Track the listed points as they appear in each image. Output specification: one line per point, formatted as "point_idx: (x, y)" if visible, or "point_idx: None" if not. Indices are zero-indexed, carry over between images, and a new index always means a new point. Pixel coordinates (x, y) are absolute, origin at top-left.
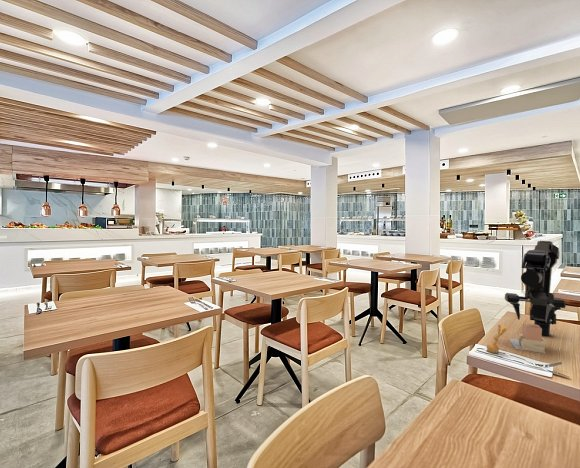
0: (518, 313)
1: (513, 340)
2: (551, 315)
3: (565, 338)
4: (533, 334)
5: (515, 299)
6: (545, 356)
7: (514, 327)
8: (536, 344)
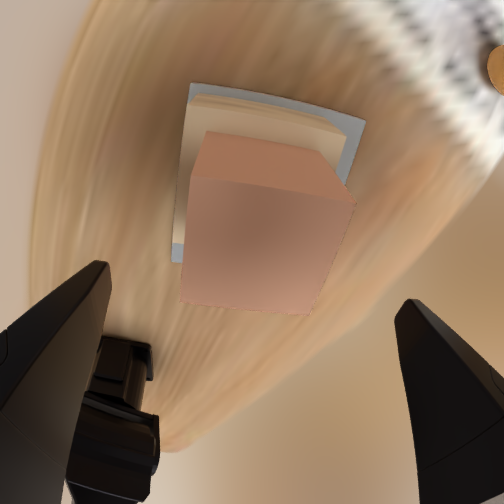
0: (463, 352)
1: None
2: (3, 334)
3: None
4: (272, 156)
5: None
6: (211, 52)
7: (204, 394)
8: (248, 110)
